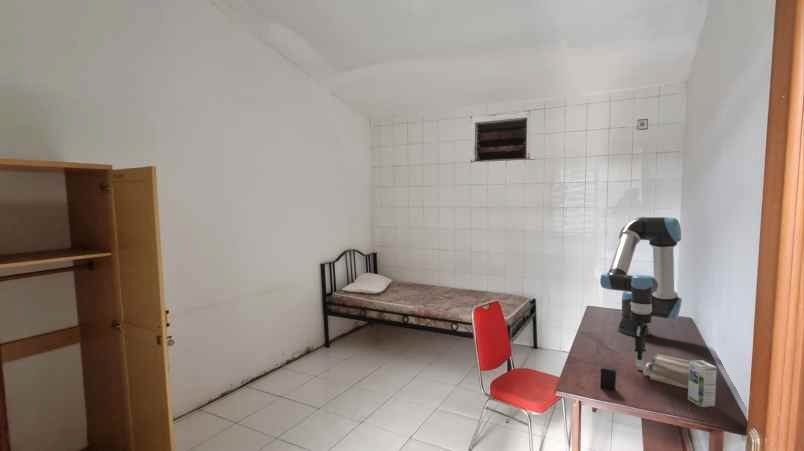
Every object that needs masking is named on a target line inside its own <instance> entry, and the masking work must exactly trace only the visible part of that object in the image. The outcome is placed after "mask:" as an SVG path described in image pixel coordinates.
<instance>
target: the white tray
mask: <svg viewBox="0 0 804 451" xmlns="http://www.w3.org/2000/svg"><path fill="white" fill-rule="evenodd" d="M651 363H652V362H646V364H645V365H644V367H643V370H642V375H643V376H647V377H650V365H651Z"/></svg>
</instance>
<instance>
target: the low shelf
mask: <svg viewBox="0 0 804 451" xmlns="http://www.w3.org/2000/svg"><path fill="white" fill-rule="evenodd" d="M689 361H690V360H687V359H682V358H678V357H673V356H668V355H663V354H659V353H656V354H654V357H653V359H652V361H651V362H650V363H651V365H650V376H649V380H652V381H655V382H659V383H663V384H668V385H672V386H676V387H680V388H684V389H688V384H689Z"/></svg>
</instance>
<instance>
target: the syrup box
mask: <svg viewBox="0 0 804 451" xmlns="http://www.w3.org/2000/svg"><path fill="white" fill-rule="evenodd" d="M688 361H689V384H688V388H687V400H688V401H690V402H692V403H693V404H695V405H696V406H698V407H699V408H707V407H708V408H709V407H710V406H711V407H715V406H716V391H717V390H716V389H717V365H716V366H715V365H713V364H711V363H709V362H707V361H705V360H701V359H700V360H699V359H697V360H696V359H694V360H688ZM711 407H710V408H711Z"/></svg>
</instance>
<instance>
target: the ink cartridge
mask: <svg viewBox="0 0 804 451" xmlns="http://www.w3.org/2000/svg"><path fill="white" fill-rule="evenodd" d="M599 383H600V384H599V385H600V388H601V389H603V390H607V391H611V392H615V390H616V388H617V386H616V385H617V370H616V369H615V368H611V367H607V366H601V368H600V382H599Z"/></svg>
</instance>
